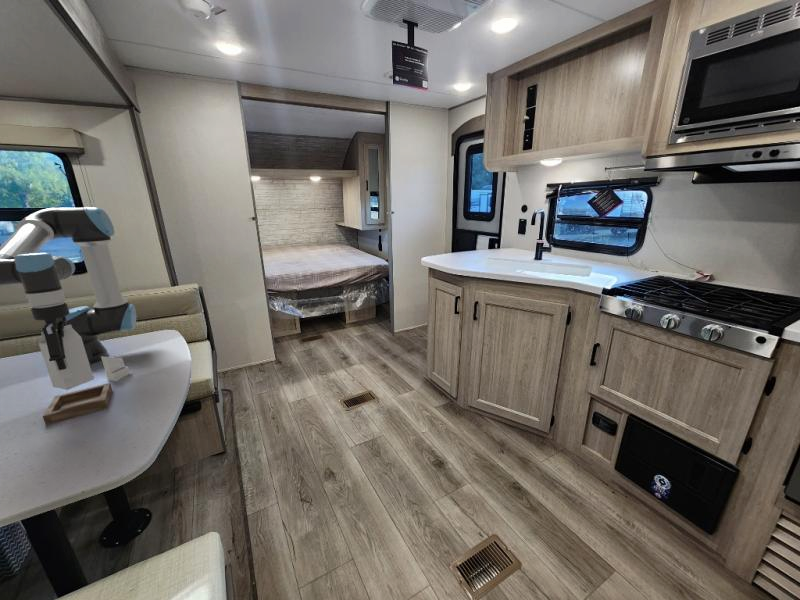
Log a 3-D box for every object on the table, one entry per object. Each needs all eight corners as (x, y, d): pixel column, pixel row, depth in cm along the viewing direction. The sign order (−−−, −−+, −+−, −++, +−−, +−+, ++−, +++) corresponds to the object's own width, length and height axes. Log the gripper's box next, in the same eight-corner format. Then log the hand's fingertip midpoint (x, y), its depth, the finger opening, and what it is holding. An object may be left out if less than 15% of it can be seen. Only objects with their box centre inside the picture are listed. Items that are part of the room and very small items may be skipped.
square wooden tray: (57, 404, 107) (54, 396, 107) (112, 390, 115) (110, 382, 114) (45, 425, 96) (42, 416, 96) (107, 408, 104) (104, 400, 103)
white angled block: (93, 380, 118) (100, 356, 120) (121, 380, 128) (127, 358, 130) (101, 380, 117) (108, 356, 119) (128, 381, 127) (134, 359, 129)
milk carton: (94, 379, 106) (77, 325, 101) (66, 390, 99) (47, 333, 94) (81, 376, 108) (64, 323, 103) (53, 387, 101) (33, 331, 96)
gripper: (41, 299, 103) (62, 363, 109) (17, 315, 86) (43, 390, 91) (73, 296, 108) (92, 357, 113) (56, 310, 90) (79, 381, 96)
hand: (70, 371), depth 102 cm, fingers closed on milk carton, 10 cm apart
